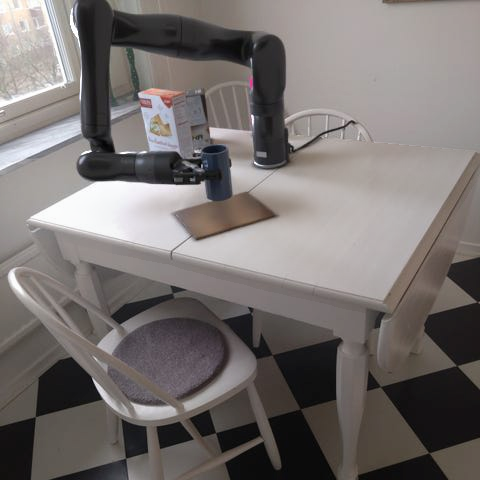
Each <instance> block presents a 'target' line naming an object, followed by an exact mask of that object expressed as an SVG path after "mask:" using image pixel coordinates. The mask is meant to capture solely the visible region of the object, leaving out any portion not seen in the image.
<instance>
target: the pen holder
mask: <svg viewBox="0 0 480 480" xmlns="http://www.w3.org/2000/svg"><path fill="white" fill-rule="evenodd" d="M199 153H201V160H202V165H201V166H202V168H203V169H205V170H206V169H213V170H222V173H223V179H222V180H206V181H204V188H205V196H206V198H207V200H209V201H210V202H211V201H224V200H227V199H229V198H231V197H232V196H233V195H234V193H233V192H234V191H233V182H232V172H231V171H232V170H231V168H230V161H229V158H230V152H229V146H228V145H226V144H219V143H218V144H211V145H209V146H206V147H203V148H200V152H199Z"/></svg>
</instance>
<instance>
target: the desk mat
mask: <svg viewBox="0 0 480 480" xmlns="http://www.w3.org/2000/svg"><path fill="white" fill-rule="evenodd" d="M173 215H174V216H175V217H176V218H177V220H178V221H179V222H180V223H181V225H183V226H184V227H185V229H186V230H187V231H188V232H189V233H190V235H191V236H192V237H193V238H194V239H195V240H196V241H198V240H201V239H204V238H207V237H208V238H209V237H210V236H214V235H217V234H221V233H223V232H224V233H225V232H227V231H231V230H234V229H237V228H241V227H243V226H247V225H252V224H255V223H257V222H261V221H264V220H268V219H270V218H273V217H275V216H276V214H275V213H274V212H272V211H271V210H270V209H269V208H267V207H266V206H265V205H264V204H262V203H261V202H260V201H258V200H257V199H256V198H255V197H254V196H252V195H250V194H249V193H248V192H247V191H244V192H240V193H236V194H233V195H232V197H231V198H229V199H227V200H224V201H211V200H210V201H207V202H204V203H200V204H197V205H194V206H190V207H187V208H183V209H180V210H175V211H173Z"/></svg>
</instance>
